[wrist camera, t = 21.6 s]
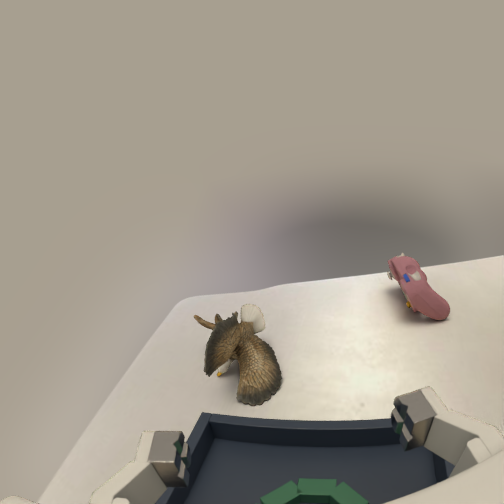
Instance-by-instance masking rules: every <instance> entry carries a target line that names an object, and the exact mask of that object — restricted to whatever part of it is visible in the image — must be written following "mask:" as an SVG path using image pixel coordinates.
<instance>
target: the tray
mask: <svg viewBox="0 0 504 504" xmlns="http://www.w3.org/2000/svg"><path fill="white" fill-rule="evenodd" d="M399 439H400V435H399V434H397V433H395V431H394V429H393V427H392V423H391V418H389V419H374V420H352V421H300V420H277V419H262V418H249V417H239V416H229V415H220V414H211V413H204V412H202V414H201V415H200V417H199V419H198V421H197V423H196V425H195V427H194V429H193V431H192V432H191V434H190V436H189V438H188V440H187V442H186V443H187V444H188V446H189V448H190V452H191V465H190V466H189V467H188V468H187V470H188V472H189V474H190V475H189V484H188V487H167V489H166V491H165V492H164V493H163V494H162V495H161V497H160V498H159V499H158V500H157V501H156V503H155V504H261V502H260V498H261V497H263V496H264V495H266V494H268V493H270V492H272V491H274V490H275V489H277V488H279V487H281V486H282V485H284V484H286V483H287V482H289V481H291V480H292V481H293V482H294V483H295V484H296V485H297V484H298V479H299V478H305V479H337V483H336V486H338V485H339V484H340V483H342V482H345V483H346V484H347V485H348V486H350V487H351V488H352V489H353V490H355V491H356V492H357V493H358V494H360V495H361V496H362V497H364V498H365V499H366V500H367V501H369V504H383V503H386V502H389V501H392V500H395V499H398V498H401V497H404V496H407V495H409V494H412V493H415V492H417V491H420V490H422V489H425V488H427V487H430V486H432V485H434V484H437V483H439V482H441V481H444V480H446V479H448V478H449V476H450V474H451V472H452V470H453V469H454V467H455V465H453V464H451V463H450V462H448V461H446V460H445V459H443V458H441V457H440V456H438V455H437V454H435V453H433V452H432V451H430V450H429V449H427V448H425V447H424V446H421V447H418V448H415V449H412V450H409V451H406V452H405V451H404V449H403V447H402V445H401V443H400V441H399ZM299 504H330V503H302V502H300V503H299Z"/></svg>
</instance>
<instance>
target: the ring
mask: <svg viewBox="0 0 504 504" xmlns="http://www.w3.org/2000/svg"><path fill="white" fill-rule="evenodd" d="M336 483H337V479H305V478H299V479H298V484H297V485H296V484H295V483H294V482H293V481H292V480H291V481H289V482H287V483H286V484H284V485H282V486H281V487H279V488H277V489H275V490H274V491H272V492H270V493H268V494H266V495H264V496H263V497H261V498H260V502H261V504H299V503H300V502H302V503H330V504H369V501H367V500H366V499H365V498H364V497H362V496H361V495H360V494H358V493H357V492H356V491H355V490H353V489H352V488H351V487H350V486H348V485H347V484H346V483H345V482H342V483H340V484H339V485H338V486H336Z"/></svg>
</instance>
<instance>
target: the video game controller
mask: <svg viewBox="0 0 504 504" xmlns="http://www.w3.org/2000/svg"><path fill="white" fill-rule="evenodd" d="M388 264H389V268H390V273H389V272H388V271H387V275H388V277H389V279H391V280H392V278H391V277H393V278H394V279H396V280H397V281H398V283H399V285H400V287H401V289H402V291H403V293H404V295H405V297H406V299H407V300H408V302H406V304H407V306H408V308H410V307H412V309H413V311H414V312H416V311H419V312H421V313H422V314H424V315H426V316H428V317H430V318H432V319H436V320H443V319H446V318H447V317H448V315H449V313H450V307H449V304H448V303H447V301H446V300H445V299H443V298H442V297H441V296H440V295H438V294H437V293H436V292H435V291H434V290H432V288H431V287H430V286H429V284H428V283H427V277H426V275H425V273H424V272H423V271H422V270H421V269H420V266H419V264H418V262H417V261H416V260H414V259H413V258H411V257H407V256H404V254H403V253H402V255H401V256H395V257H394V258H392V259H390V260H389V261H388Z"/></svg>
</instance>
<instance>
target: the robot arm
mask: <svg viewBox="0 0 504 504" xmlns="http://www.w3.org/2000/svg"><path fill="white" fill-rule="evenodd" d="M393 404H394V406H395V408H394V410H393V411H392V414H391V423H392V427H393V429H394V431H395V433H397V434H399V435H400V439H399V441H400V443H401V445H402V447H403V449H404V451H405V452H406V451H409V450H412V449H415V448H418V447H421V446H424V447H425V448H427V449H429V450H430V451H432V452H433V453H435V454H437V455H438V456H440V457H441V458H443V459H445V460H446V461H448V462H450V463H451V464H453V465H455V467H454V469H453V470H452V472H451V474H450V476H449V478H448V479H446V480H444V481H441V482H439V483H437V484H434V485H432V486H430V487H427V488H425V489H422V490H420V491H417V492H415V493H412V494H409V495H407V496H404V497H401V498H398V499H395V500H392V501H389V502H386V503H383V504H504V437H503V436H502V435H501V433H500V432H499V431H498V429H497V428H496V427H495V426H492V425H490V424H487V423H484V422H482V421H479V420H477V419H474V418H471V417H469V416H466V415H464V414H461V413H459V412H456V411H454V410H449V411H448V409H447V408H446V406H445V405H444V404H443V402H442V401H441V400H440V398H439V397H438V395H437V394H436V393H435V391H434V390H433V389H432V387H430V386H428V387H425V388H422V389H419V390H416V391H413V392H410V393H406V394H403V395H400V396H397V397H396V398H395V399H394V403H393ZM184 438H185V437H184V435H183V432H182V431H144V432H143V433H142V435H141V438H140V442H139V445H138V449H137V452H136V456H135V460H134V461H130V462H129V463H128V464H127V465H126V466H125V467H123V468H122V469H121V470H120V471H119V472H117V473H116V474H115V475H114V476H113V477H111V478H110V479H109V480H108V481H107V482H105V483H104V484H103V485H102V486H100V487H99V488H98V489H97V490H95V491H94V492H93V493H92V496H91V499H90V502H89V504H155V503H156V501H157V500H158V499H159V498H160V497H161V495H162V494H163V493H164V492H165V491H166V489H167V487H188V484H189V475H190V474H189V472H188V470H187V468H188V467H189V466H190V465H191V452H190V448H189V446H188V444H187V443H186V442H184ZM0 504H39V503H36V502H33V501H30V500H27V499H24V498H22V497H19V496H9V497H7V498H5V499H3V500H1V501H0Z"/></svg>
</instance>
